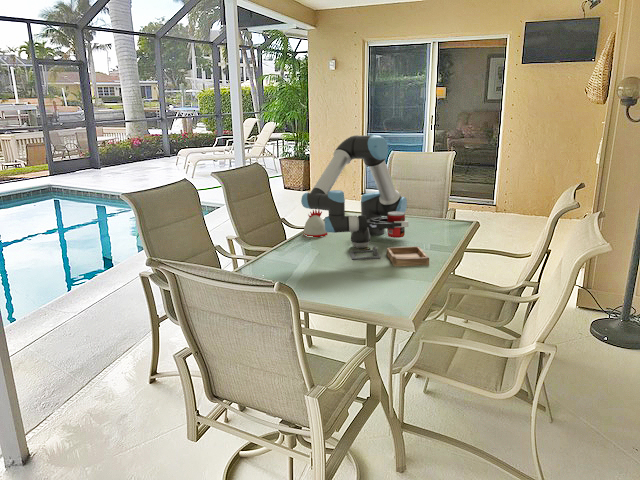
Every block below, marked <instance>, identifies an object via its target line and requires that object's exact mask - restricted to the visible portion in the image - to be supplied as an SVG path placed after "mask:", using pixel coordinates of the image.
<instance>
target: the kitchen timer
mask: <svg viewBox="0 0 640 480" xmlns="http://www.w3.org/2000/svg"><path fill="white" fill-rule="evenodd" d="M317 210H318V209H312V211H310V214H309V213H308V214H307V216H308V219H307V220H306V222H305V224H304V229H303V232H304V234H305V235H307V236H313V237H320V236H325V235H327V236H328V232H326V231H325V220H324V219H323V218H322V217H321V216H322V213H323V210H318V211H317ZM304 234H303V235H304ZM325 237H326V236H325ZM320 238H321V237H320Z"/></svg>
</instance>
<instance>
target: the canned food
mask: <svg viewBox="0 0 640 480" xmlns="http://www.w3.org/2000/svg"><path fill="white" fill-rule="evenodd" d="M405 214H406V212H405V213H404V212H399V211H393V212H388V222H394V221H406V217H405V216H406V215H405ZM405 229H406V227H394V229H387V236H388V237H389V238H393V239H395V238H397V239H398V238H403V237H404V236H405V234H406V233H405V231H406V230H405Z"/></svg>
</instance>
